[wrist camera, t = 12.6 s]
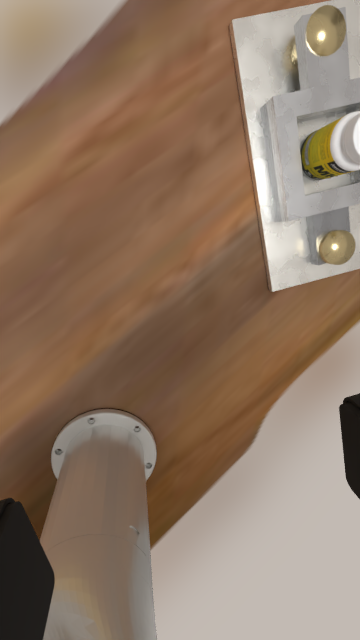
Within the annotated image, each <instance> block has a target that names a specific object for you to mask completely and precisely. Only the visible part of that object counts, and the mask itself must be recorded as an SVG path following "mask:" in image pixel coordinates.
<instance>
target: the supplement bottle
mask: <svg viewBox="0 0 360 640" xmlns="http://www.w3.org/2000/svg"><path fill="white" fill-rule="evenodd" d="M300 154H301V163H302V173H303V174H304V175H305V176H306V177H307V178H309V179H312V180H322V179H327V178H331V177H334V176H338V175H342V174H346V173H350V172H353V171H357V170H360V111H357V112H352V113H349V114H347V115H345V116H343V117H341V118H339V119H338V120H336V121H334V122H332V123H330V124H328V125H326V126H324V127H322V128H320V129H318V130H316V131H314V132H313V133H311V134H309V135H308V136H307V137H306V138H305V139H304V140H303V142H302V143H301V145H300Z"/></svg>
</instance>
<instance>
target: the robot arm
mask: <svg viewBox="0 0 360 640" xmlns="http://www.w3.org/2000/svg"><path fill="white" fill-rule="evenodd" d="M339 411H340V421H341V432H342V442H343V452H344V463H345V473H346V479H347V482H348V484H349V486H350V487H351V489H352V491H353V492H354V493H355V494H356V495H357V496H358V498H359V499H360V394H357V395H353V396H350V397H346V398H345V399H344V401H343V404H341V405H340V407H339ZM156 455H157V451H156V443H155V440H154V437H153V434H152V433H151V431H150V429H149V428H148V427H147V426H146V424H145V423H144V422H143V421H141V420H140V419H139V418H137V417H136V416H134V415H132V414H130V413H128V412H124V411H120V410H114V409H99V410H94V411H90V412H86V413H84V414H82V415H79V416H77V417H76V418H74V419H73V420H71V421H70V422H69V423H68V424H67V425H66V426H65V427H64V428H63V429H62V430H61V431H60V433H59V434H58V436H57V438H56V440H55V443H54V446H53V449H52V452H51V464H52V470H53V472H54V475H55V477H56V479H57V483H56V487H55V490H54V493H53V497H52V500H51V504H50V507H49V510H48V514H47V517H46V521H45V524H44V527H43V531H42V534H41V537H40V541H39V539H38V537H37V535H36V533H35V531H34V529H33V527H32V525H31V523H30V520H29V518H28V516H27V514H26V512H25V510H24V508H23V506H22V504H21V503H20V502H15V501H14V500H13V499H12V498H8V499H4V500H1V501H0V640H157V635H156V626H155V615H154V602H153V590H152V589H153V588H152V572H151V555H150V539H149V523H148V507H147V491H146V481H147V479H148V478H149V477H150V475H151V473H152V471H153V469H154V467H155V463H156Z"/></svg>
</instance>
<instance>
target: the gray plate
mask: <svg viewBox="0 0 360 640" xmlns="http://www.w3.org/2000/svg"><path fill="white" fill-rule="evenodd" d="M229 31H230V37H231V44H232V51H233V57H234V64H235V70H236V77H237V84H238V90H239V97H240V103H241V110H242V117H243V123H244V130H245V136H246V143H247V149H248V156H249V163H250V169H251V176H252V182H253V189H254V196H255V202H256V209H257V215H258V222H259V228H260V235H261V242H262V248H263V255H264V261H265V268H266V275H267V281H268V288H269V290H270V291H272V292H273V291H277V290H281V289H285V288H288V287H292V286H296V285H300V284H303V283H307V282H311V281H315V280H318V279H322V278H326V277H330V276H333V275H337V274H341V273H345V272H349V271H352V270H356V269H360V170H357V171H353V172H350V173H346V174H342V175H338V176H334V177H331V178H327V179H322V180H312V179H309V178H307V177H306V176H305V175H304V174H303V173H302V163H301V154H300V145H301V143H302V142H303V140H304V139H305V138H306V137H307V136H308V135H309V134H311V133H313V132H314V131H316V130H318V129H320V128H322V127H324V126H326V125H328V124H330V123H332V122H334V121H336V120H338V119H339V118H341V117H343V116H345V115H347V114H349V113H352V112H357V111H360V0H331V1H326V2H321V3H316V4H311V5H306V6H301V7H295V8H290V9H285V10H280V11H275V12H270V13H265V14H260V15H254V16H249V17H244V18H239V19H234V20H232V21H231V23H230V25H229Z"/></svg>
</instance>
